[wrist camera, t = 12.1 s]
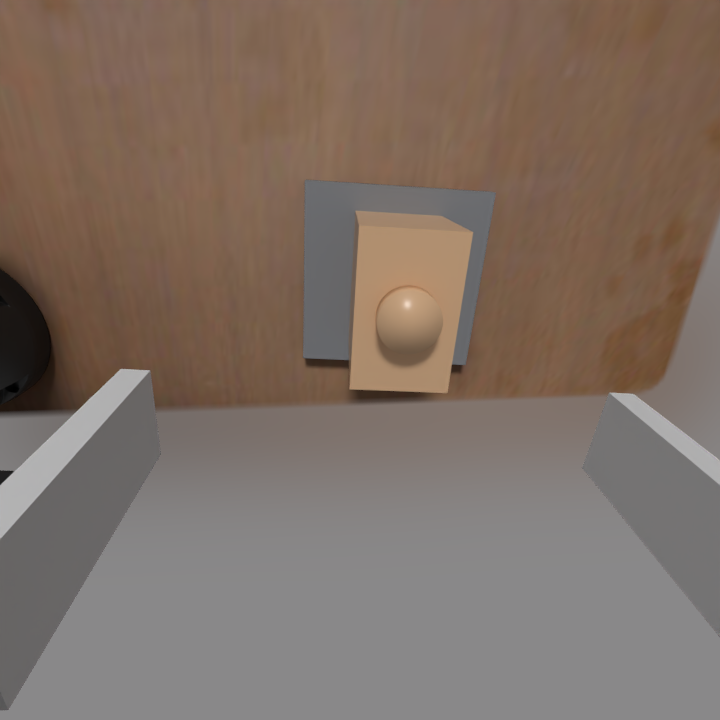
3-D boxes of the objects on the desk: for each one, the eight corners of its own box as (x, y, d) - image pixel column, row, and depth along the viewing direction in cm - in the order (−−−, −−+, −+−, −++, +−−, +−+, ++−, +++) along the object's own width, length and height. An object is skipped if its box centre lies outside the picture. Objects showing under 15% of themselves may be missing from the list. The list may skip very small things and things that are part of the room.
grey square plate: (304, 352, 44) (294, 401, 34) (306, 179, 37) (294, 184, 28) (461, 358, 44) (492, 408, 35) (490, 191, 38) (536, 199, 29)
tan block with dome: (355, 210, 37) (359, 228, 26) (441, 215, 37) (480, 235, 27) (348, 340, 42) (349, 399, 31) (424, 343, 42) (452, 403, 31)
